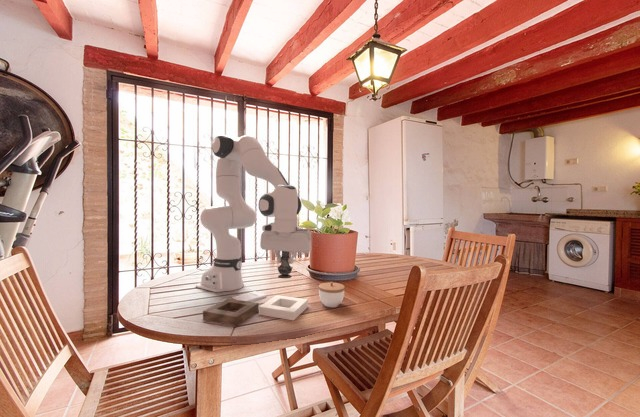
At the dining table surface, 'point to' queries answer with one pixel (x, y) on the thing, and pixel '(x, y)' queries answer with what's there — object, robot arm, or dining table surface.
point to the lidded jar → (331, 294)
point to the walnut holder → (233, 318)
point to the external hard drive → (249, 296)
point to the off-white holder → (275, 309)
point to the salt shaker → (284, 266)
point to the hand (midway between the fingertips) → (285, 262)
